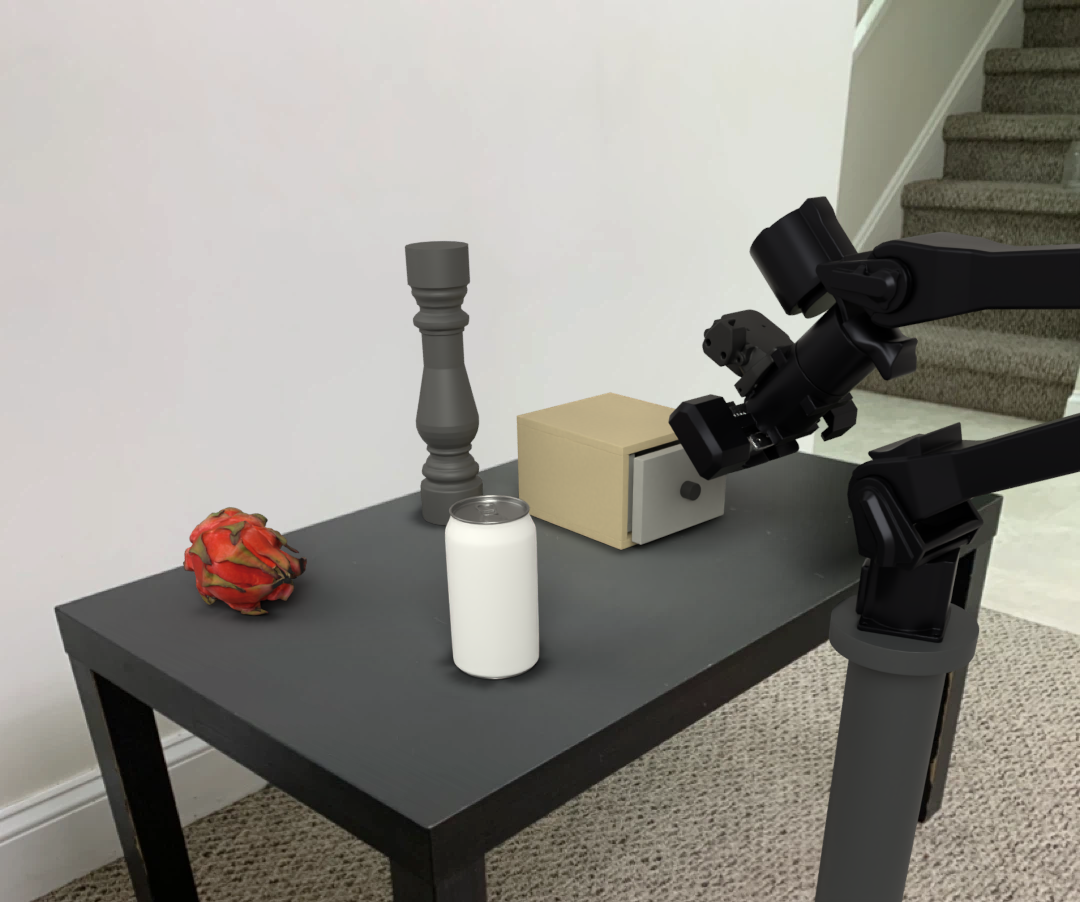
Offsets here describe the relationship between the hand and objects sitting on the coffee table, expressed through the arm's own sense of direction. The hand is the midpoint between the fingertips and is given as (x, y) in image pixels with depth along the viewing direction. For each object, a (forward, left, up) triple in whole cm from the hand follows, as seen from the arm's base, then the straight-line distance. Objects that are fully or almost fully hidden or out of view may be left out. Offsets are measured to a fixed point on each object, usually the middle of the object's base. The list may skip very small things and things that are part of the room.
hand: (709, 473), depth 98 cm
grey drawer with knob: (+8, -4, -6) cm, 11 cm away
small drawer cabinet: (+11, -5, -7) cm, 14 cm away
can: (+8, +28, -7) cm, 30 cm away
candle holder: (+26, +1, -7) cm, 27 cm away
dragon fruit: (+32, +26, -7) cm, 42 cm away
